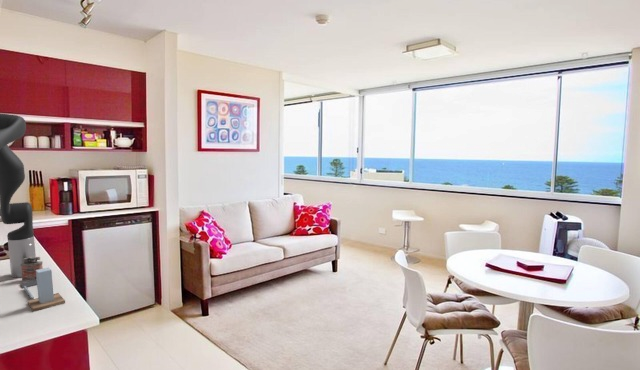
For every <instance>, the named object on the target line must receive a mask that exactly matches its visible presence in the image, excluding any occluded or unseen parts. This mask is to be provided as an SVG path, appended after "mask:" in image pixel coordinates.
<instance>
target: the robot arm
mask: <svg viewBox="0 0 640 370" xmlns="http://www.w3.org/2000/svg"><path fill="white" fill-rule="evenodd" d="M26 129H27V123H26V120H25V118H24V117H22V116H21V115H18V114H17V115H15V114H7V113H1V112H0V219H1V221H2V223H3V224H5V225H14V224H15V225H16V224H22V226H20V227H19V228H16V229H15V230H11V231H9V232H8V233H7V236H6V237H7V245H8V257H9V264H10V265H9V266H10V276H11V277H12V278H22V269H21V263H24V260H23V259H24V258H29V257H33V258H34V257H37V255H36V254H37V253H36V246H35V235H34V234H35V233H34V223H33V215H34V214H33V207H32V204H31V203H30V202H27V201H26V202H13V203H11V200H12V198H13V196H14V194H15V193H16V192H17V190H18V189H19V188H20V187H21V186H22V185H23V183H24V182H25V179H26V174H25V165H24V163H23V162H22V160H21V159H20V157H18V155H17V154H16V153H14V151H13V150H12V148H10V147H9V146H8V145H9V144H11V143H13V142H14V141H17V140H19V139H20V138H22V137H23V136H24V135H25V133H26V131H27V130H26ZM0 252H1V248H0ZM34 261H35V260H34Z"/></svg>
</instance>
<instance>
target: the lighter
mask: <svg viewBox="0 0 640 370" xmlns="http://www.w3.org/2000/svg"><path fill="white" fill-rule="evenodd" d="M23 260H24V263H21V269H22V277H21V280H22V282H24V281H25V282H30V281H34V280H37V278H36V270H39V269H44V268H43V263H44V261H43V260H42V261H41V257H40V256H36V257H34V258H33V257H29V258H24V259H23ZM34 260H35V261H34Z"/></svg>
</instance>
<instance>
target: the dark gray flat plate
mask: <svg viewBox="0 0 640 370" xmlns="http://www.w3.org/2000/svg"><path fill="white" fill-rule="evenodd" d="M19 285H20V287H22V289H24V286H26V287H27V288H30V287H35V286H37V280H29V281H25V282H22V283H19Z"/></svg>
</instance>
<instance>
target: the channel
mask: <svg viewBox="0 0 640 370" xmlns="http://www.w3.org/2000/svg"><path fill="white" fill-rule="evenodd" d="M28 288H29V287H26V286H24V288H23V289H24V291H25V292H26V294H27V296H28V295H29V296H28V297H29V299H30V300H32V299H35V298H34V295H33V294H32V293H31V291H30V289H28Z"/></svg>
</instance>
